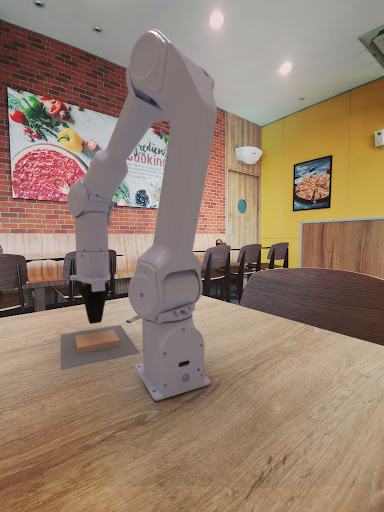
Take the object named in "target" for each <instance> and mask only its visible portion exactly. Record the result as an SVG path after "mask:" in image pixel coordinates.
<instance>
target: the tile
mask: <svg viewBox="0 0 384 512" xmlns="http://www.w3.org/2000/svg"><path fill="white" fill-rule="evenodd" d="M75 338H76V348H77V354H83V353H88V352H93V351H99V350H104V349H109V348H114V347H119V346H120V340H119V338H118V336H117V335H116V333H115V331H114V330H108V331H101V332H95V333H89V334H83V335H77V336H75Z"/></svg>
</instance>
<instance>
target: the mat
mask: <svg viewBox="0 0 384 512" xmlns="http://www.w3.org/2000/svg"><path fill="white" fill-rule="evenodd" d="M108 330H114V331H115V333H116V335H117V336H118V338H119V340H120V346H119V347H114V348H109V349H104V350H99V351H93V352H88V353H83V354H77V348H76V338H75V336H77V335H83V334H89V333H95V332H101V331H108ZM140 353H141V352H140V351H139V349H138V347H136V345H135V344H134V341H132V339H131V338H130V336H129V335H128V334H127V332H126V331H125V330H124V328H123V326H122V325H121V324H118V325H111V326H104V327H100V328H93V329H92V328H91V329H88V330H86V329H85V330H82V331H81V330H79V331H74V332H73V331H72V332H68V333H63V334H62V333H61V334H60V370H61V371H62V370H68V369H72V368H77V367H82V366H86V365H90V364H96V363H100V362H105V361H109V360H114V359H118V358H123V357H128V356H132V355H137V354H140Z"/></svg>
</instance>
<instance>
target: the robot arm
mask: <svg viewBox="0 0 384 512" xmlns="http://www.w3.org/2000/svg"><path fill="white" fill-rule="evenodd" d="M125 80H126V87H127V92H128V93H127V96H126V99H125V101H124V104H123V106H122V108H121V111H120V114H119V116H118V119H117V121H116V124H115V126H114V129H113V132H112V133H111V136H110V139H109V141H108V143H107V146H106V148H104V149H100V150H97V151H96V152H95V154H94V156H93V158H92V159H91V162H90V164H89V166H88V168H87V171H86V172H85V174H84V176H83V179H78V180H77V182H74V183H73V184H71V185H70V188H69V190H68V194H67V198H66V199H67V200H66V201H67V208H68V209H67V210H68V212H69V213H70V215H71V216H73V217H74V233H75V235H74V236H75V256H76V257H75V258H76V259H75V260H76V262H75V263H76V274H72V275H70V276H69V280H70V281H77V282H78V281H79V282H82V283H85V285H84V284H83V285H77V287H76V288H77V291H78V292H79V294H80V296H81V298H82V300H83V303H84V308H85V312H86V316H87V320H88V323H89V324H90V325H93V324H99V323H102V320H103V316H104V309H105V306H106V305H105V303H106V300H107V299H108V298H107V297H108V295H109V293H110V292H111V290H112V289H111V288H112V287H111V286H110V283H108V282H107V281H109V280H110V279H111V273H110V258H109V257H110V255H109V252H110V251H109V228H108V227H110V226H111V223H112V222H111V219H112V218H111V217H112V214H113V211H114V207H115V201H114V200H113V198H114V196H115V195H116V193H117V191H118V189H119V188H120V187H121V185H122V183H123V181H124V180H125V178H126V176H127V175H128V172H129V166H128V163H127V162H128V159H129V158H130V156H131V155H132V153H133V152H134V151H135V149H136V148H137V146H138V145H139V143H141V141H142V139H143V138H144V137H145V135H146V134H147V132H148V131H149V129H150V128H151V126H152V125H153V123H159V122H161V123H162V122H170V127H169V133H168V141H167V145H166V146H167V147H166V154H165V159H164V160H165V162H164V167H163V173H162V180H161V181H162V182H161V189H160V193H159V194H160V195H159V201H158V207H157V214H156V215H157V216H156V220H155V221H156V222H155V228H154V235H153V242H152V245H151V246H150V247H148V249H147V250H145V251H144V252H143V253H142V254H141V255H140V257H139V258H137V259H136V264H135V270H134V273H133V275H132V277H131V278H130V281H129V284H128V289H127V290H128V291H127V292H128V300H129V303H130V304H129V305H130V306H131V308H132V309H133V311H134V312H135V314H136V315H138V317H139V318H141V324H142V325H141V326H142V327H141V328H142V329H141V330H142V362H140V363H137V364H135V365H134V368H135V370H136V372H137V374H138V375H139V377H140V378H141V379H142V382H143V384H144V385H145V388H146V389H147V391H148V393H149V394H150V396H151V398H152V400H154V401H156V402H157V401H161V400H164V399H167V398H170V397H174V396H177V395H180V394H183V393H184V394H185V393H186V392H190V391H194V390H196V389H200V388H202V387H206V386H209V385H210V384H211V380H210V379H209V377H207V376H206V374H205V342H204V341H205V339H204V337H203V335H202V333H201V332H200V331H199V329H197V327H196V325H195V323H194V320H193V319H194V318H193V312H194V311H195V310H196V303H197V302H198V301H200V299H201V297H202V294H203V286H204V285H203V280H202V275H201V274H202V266H203V263H202V260H200V259H199V257H197V255H196V254H195V253H194V250H193V249H194V244H195V239H196V233H197V229H198V222H199V219H200V211H201V206H202V202H203V195H204V190H205V186H206V178H207V174H208V169H209V163H210V156H211V151H212V145H213V141H214V135H215V129H216V123H217V119H218V118H217V117H218V109H217V104H216V101H215V100H216V99H215V96H214V90H215V89H214V87H215V83H216V82H215V79H214V78H213V77H212V76H211V75H210V74H209V73H208V72H207V71H206V70H205V69H204V68H202V67H201V66H199V65H198V64H197V63H196V62H195V61H193V60H192V59H191V58H190V57H188V56H187V55H186V54H185V53H184V52H183V51H182V50H181V49H179V48H178V47H177V46H176V45H175V44H174V43H173V42H171V40H170V39H169V38H168V37H167V36H166V35H165V34H164V33H163V32H161V31H160V30H159V29H156V28H151V29H149V30H146V31H145V32H144V33H143V34H142V35H140V36H139V38H138V39H137V40H136V42H135V43H134V45H133V47H132V50H131V53H130V57H129V63H128V65H127V67H126V69H125Z"/></svg>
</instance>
